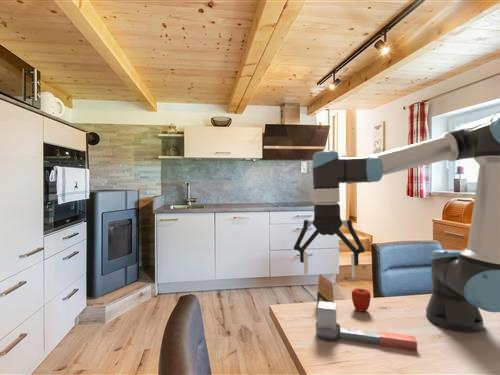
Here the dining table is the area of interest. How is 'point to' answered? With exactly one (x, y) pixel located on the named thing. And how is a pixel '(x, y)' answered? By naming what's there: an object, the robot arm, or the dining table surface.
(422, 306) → the dining table surface
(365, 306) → the apple
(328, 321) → the brushed steel cube
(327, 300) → the ammunition clip
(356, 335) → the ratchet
